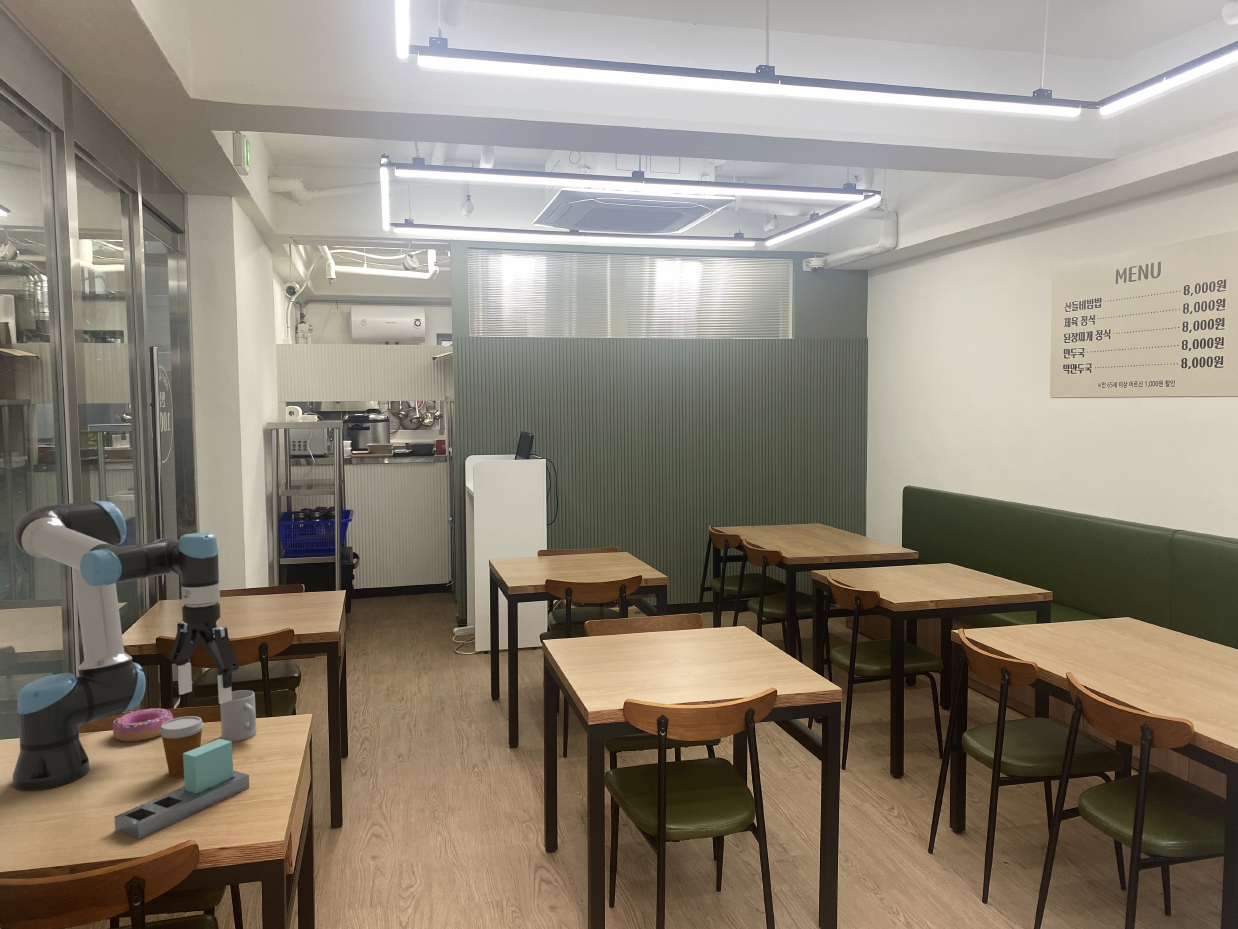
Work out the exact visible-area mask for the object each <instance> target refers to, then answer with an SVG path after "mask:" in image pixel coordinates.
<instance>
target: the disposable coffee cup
mask: <svg viewBox="0 0 1238 929" xmlns="http://www.w3.org/2000/svg"><path fill="white" fill-rule="evenodd" d="M204 726H205V723H204V722H203V720H202V718H201V717H199V716H195V715H192V716H189V715H187V716H180V717H175V718H173V719H172V720H169V721H167V722H165V723H163V724H162V726H161V729H160V731H159V733H160V734H161V735H160V736H161V738H162V743H163V748H164V753H165V759H166V764H167V768H168V769H167V770H168V774H169V776H170V777H175V778H178V777H184V764H183V753H185V752H188V751H191V750H193V749H196V748H198V747H201V746H202V735H203V734H202V733H203V732H202V731H203V728H204Z"/></svg>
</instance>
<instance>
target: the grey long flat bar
mask: <svg viewBox="0 0 1238 929" xmlns="http://www.w3.org/2000/svg"><path fill="white" fill-rule="evenodd" d="M246 789H250V775H249V774H247V773H244V772H240V771H237V770H234V769H233V778H231V780H229V781H227V782H224V783H219V784H217V785H215V786H213V787H211V788H208V789H207V791H204V792H202V793H200V794H194V793H191V792H188V791H186V790H185V785H184V786H181V787H178V788H177V789H175V790H173V791H170V792H167V793H166V794H164V795H161V796H159V797H156V798H155V799H154V798H153V799H152V800H149V801H147V802H144V803H142V804H139V805H138V806H136V807H133V808H131V809H129V810H126V811H124V812H122V813H119V814H117V815H115V816H114V828H115V829H114V830H115V832H119V833H121V834H123V835H127V836H130V837H132V838H135V839H137V840H140V839H141V840H142V839H143V838H145V837H147V836H149V835H150V834H154V833H155V832H157V831H159V830H162V829H163V828H166V827H168V826H170V825H172V824H175V823H177V822H179V821H181V820H184V819H185V818H187V817H189V816H192V815H194V814H196V813H198V812H201V811H202V810H205V809H206V808H210V807H211V806H213V805H216V804H217V803H220V802H221V801H224V800H227V799H228V798H230V797H232V796H234V795H236V794H238V793H241V792H243V791H245V790H246Z"/></svg>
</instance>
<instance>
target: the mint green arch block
mask: <svg viewBox="0 0 1238 929" xmlns="http://www.w3.org/2000/svg"><path fill="white" fill-rule="evenodd" d="M233 760H234V759H233V741H227V740H223V739H222V738H219V739H216V740H214V741H211V742H209V743H206V744H204V745H201V746H200V747H198V748H196V749H193V750H191V751H188V752H185V753H183V764H184V776H183V780H184V781H183V782H184V786H185V790H186V791H188V792H191V793H194V794H200V793H202V792H204V791H207V789H208V788H211V787H213V786H215V785H217V784H219V783H224V782H227V781H229V780H231V778H233V770H234V762H233Z"/></svg>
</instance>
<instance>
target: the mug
mask: <svg viewBox="0 0 1238 929" xmlns="http://www.w3.org/2000/svg"><path fill="white" fill-rule="evenodd" d="M255 696H256V695H255V692H254V691H253V690H248V689H243V690H241V689H240V690H232V700H231V701H228V702H225V703H222V704H220V721H221V722H220V724H221V726H220V727H221V730H220V731H221V732H220V733H221V739H223V740H227V741H231V742H239V741H240V742H241V741H244V740H247V739H250V738H252V737H254V736H255V735H256V734H257V714H256V697H255Z"/></svg>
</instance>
